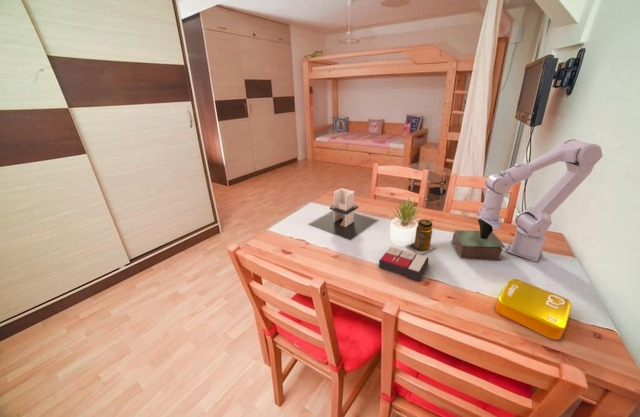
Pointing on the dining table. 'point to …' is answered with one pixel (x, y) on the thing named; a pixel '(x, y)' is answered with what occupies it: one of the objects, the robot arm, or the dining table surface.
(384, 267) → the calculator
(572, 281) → the dining table surface
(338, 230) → the candle holder
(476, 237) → the sage green tile
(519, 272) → the dining table surface
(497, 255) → the brown box
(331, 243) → the dining table surface
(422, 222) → the condiment
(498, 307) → the element tile
